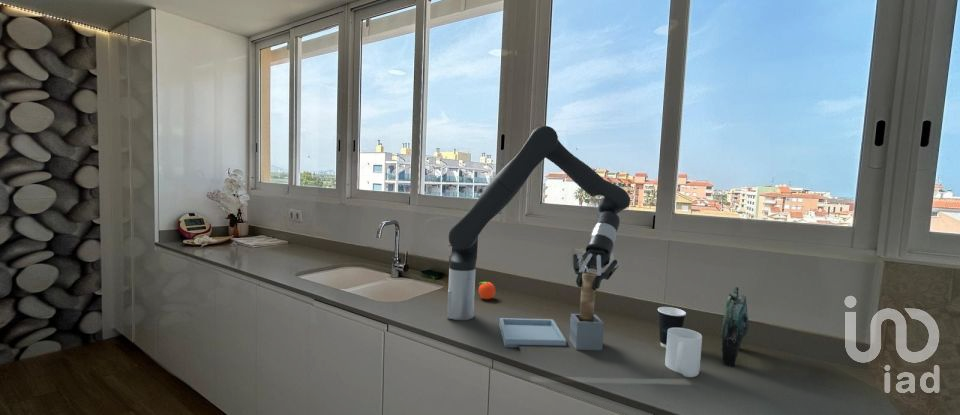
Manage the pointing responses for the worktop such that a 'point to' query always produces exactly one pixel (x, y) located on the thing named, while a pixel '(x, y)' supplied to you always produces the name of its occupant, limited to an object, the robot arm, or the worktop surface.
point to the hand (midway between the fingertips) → (586, 286)
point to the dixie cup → (669, 321)
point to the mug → (683, 351)
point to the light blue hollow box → (586, 333)
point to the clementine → (486, 290)
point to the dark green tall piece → (734, 327)
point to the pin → (587, 297)
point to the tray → (530, 332)
